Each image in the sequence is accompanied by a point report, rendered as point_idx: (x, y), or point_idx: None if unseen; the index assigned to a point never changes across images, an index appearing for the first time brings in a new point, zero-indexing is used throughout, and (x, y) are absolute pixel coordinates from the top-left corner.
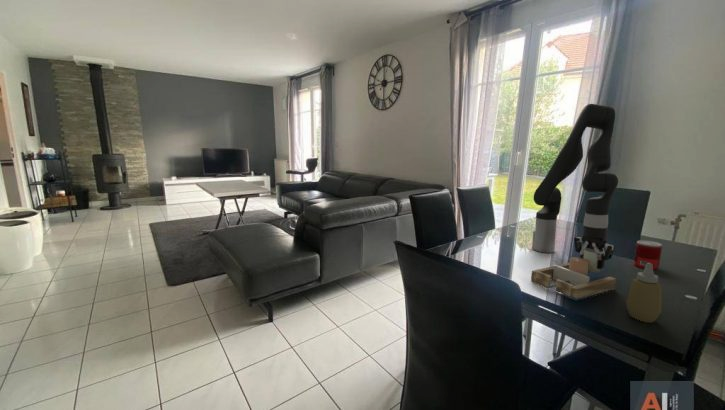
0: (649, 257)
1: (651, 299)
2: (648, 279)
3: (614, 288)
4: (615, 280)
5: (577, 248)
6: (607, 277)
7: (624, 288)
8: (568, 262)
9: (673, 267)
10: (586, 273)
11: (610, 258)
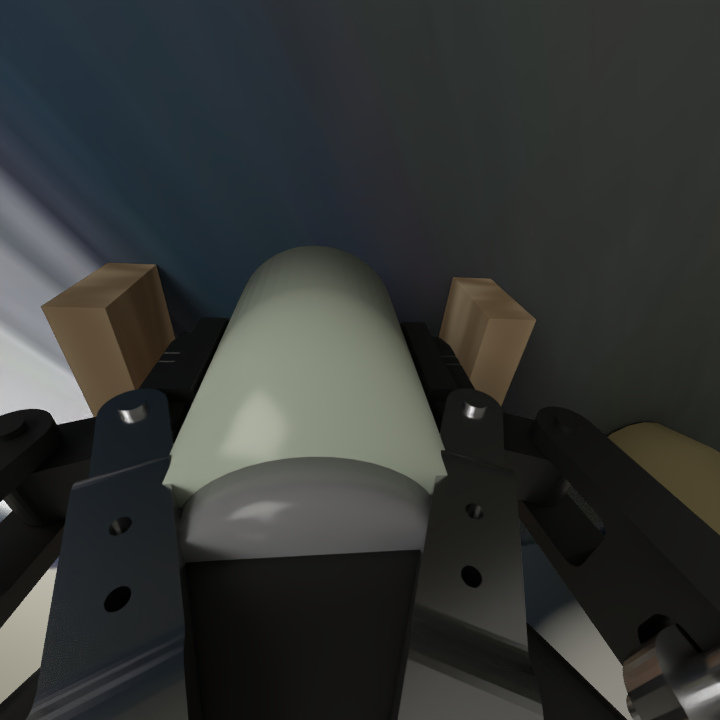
0: None
1: None
2: None
3: (494, 285)
4: (526, 315)
5: (46, 559)
6: (480, 354)
7: (535, 181)
8: (46, 309)
9: None
10: None
11: (583, 435)
